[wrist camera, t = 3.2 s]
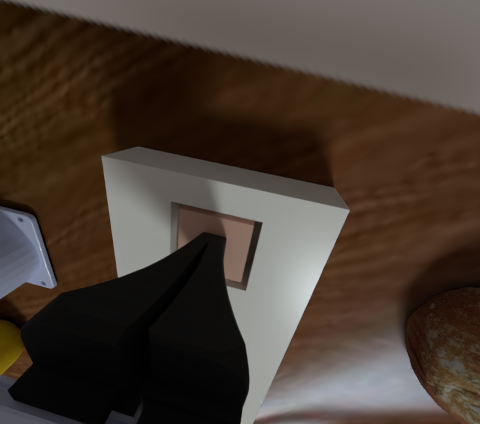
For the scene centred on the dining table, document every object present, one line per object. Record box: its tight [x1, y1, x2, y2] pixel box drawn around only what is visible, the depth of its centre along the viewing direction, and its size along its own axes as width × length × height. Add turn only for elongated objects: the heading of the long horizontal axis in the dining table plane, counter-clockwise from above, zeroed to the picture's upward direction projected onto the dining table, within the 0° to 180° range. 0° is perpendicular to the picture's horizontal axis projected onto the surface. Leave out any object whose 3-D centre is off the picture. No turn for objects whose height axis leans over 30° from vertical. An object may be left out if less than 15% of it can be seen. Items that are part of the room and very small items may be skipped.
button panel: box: [102, 147, 350, 424], centre depth 18 cm, size 12×28×3 cm, turn 171°
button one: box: [178, 204, 255, 282], centre depth 13 cm, size 4×4×3 cm
